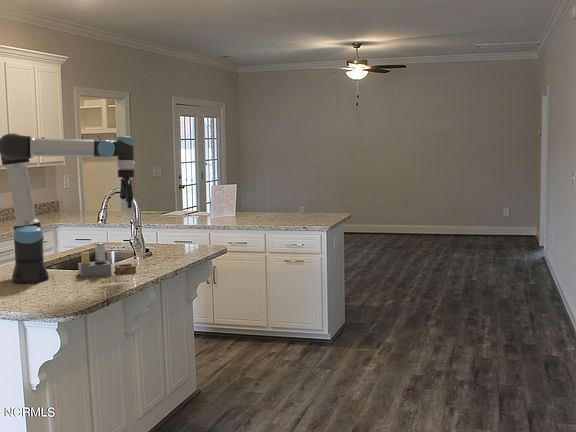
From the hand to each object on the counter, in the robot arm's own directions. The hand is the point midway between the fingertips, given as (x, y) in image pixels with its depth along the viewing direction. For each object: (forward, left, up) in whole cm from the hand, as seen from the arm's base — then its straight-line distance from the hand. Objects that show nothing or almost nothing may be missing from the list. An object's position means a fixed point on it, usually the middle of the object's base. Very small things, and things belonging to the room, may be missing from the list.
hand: (126, 213), depth 320 cm
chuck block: (-18, -15, -26) cm, 35 cm away
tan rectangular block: (-21, -15, -22) cm, 34 cm away
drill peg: (-15, -15, -25) cm, 33 cm away
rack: (-4, -15, -26) cm, 31 cm away
